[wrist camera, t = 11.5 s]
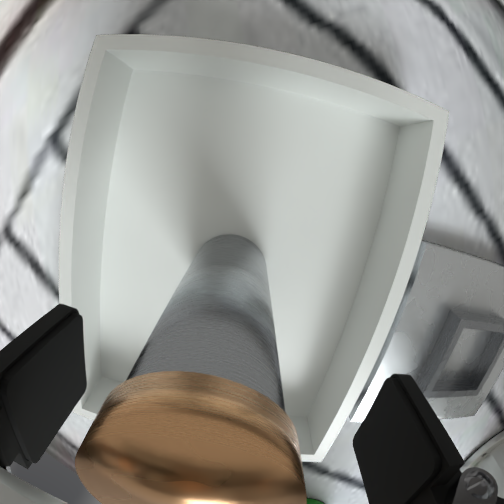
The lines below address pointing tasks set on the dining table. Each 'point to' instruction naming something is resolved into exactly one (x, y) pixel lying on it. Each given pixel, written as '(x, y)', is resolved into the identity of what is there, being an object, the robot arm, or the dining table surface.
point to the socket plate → (444, 333)
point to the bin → (245, 205)
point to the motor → (313, 501)
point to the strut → (201, 398)
